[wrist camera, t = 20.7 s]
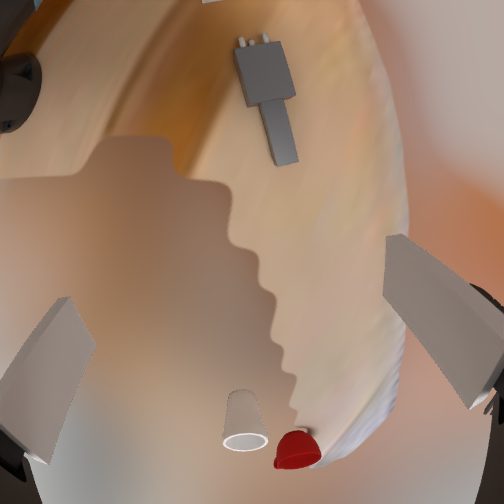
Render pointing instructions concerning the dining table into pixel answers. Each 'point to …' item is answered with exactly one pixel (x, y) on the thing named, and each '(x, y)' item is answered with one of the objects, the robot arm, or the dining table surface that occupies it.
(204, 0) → the pillar
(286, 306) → the dining table surface
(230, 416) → the foam cup
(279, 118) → the plug
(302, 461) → the ceramic cup
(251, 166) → the dining table surface
